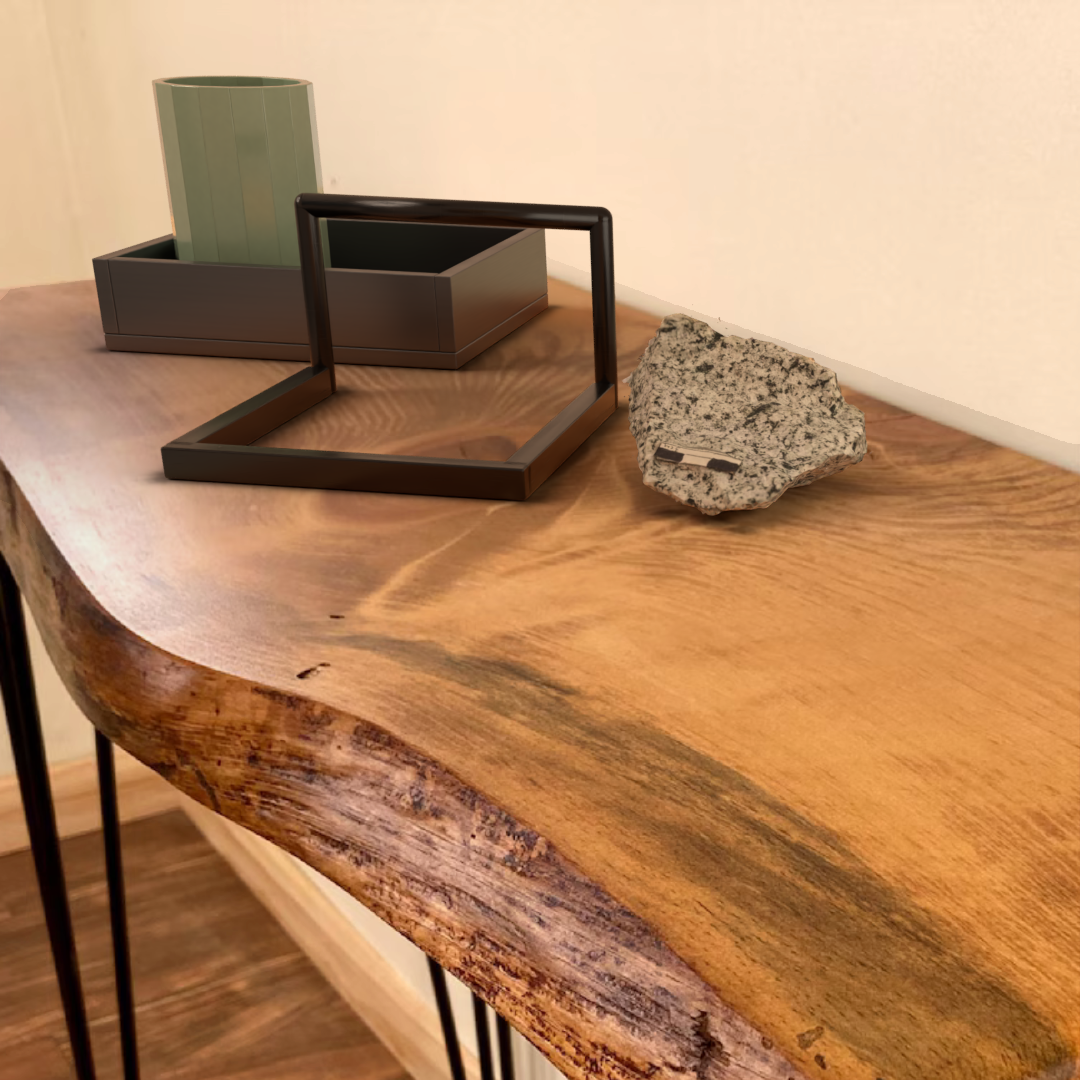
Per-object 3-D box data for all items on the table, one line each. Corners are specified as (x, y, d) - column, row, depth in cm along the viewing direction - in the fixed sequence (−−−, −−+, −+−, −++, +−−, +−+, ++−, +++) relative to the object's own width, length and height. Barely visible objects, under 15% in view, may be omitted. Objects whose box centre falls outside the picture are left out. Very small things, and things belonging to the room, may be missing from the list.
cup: (167, 324, 89) (132, 84, 84) (206, 297, 95) (177, 73, 90) (318, 327, 89) (292, 89, 84) (347, 300, 96) (325, 78, 91)
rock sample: (566, 416, 61) (678, 224, 64) (552, 506, 69) (653, 330, 71) (832, 558, 63) (931, 363, 65) (790, 631, 70) (880, 453, 72)
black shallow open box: (105, 350, 87) (91, 258, 85) (246, 291, 101) (237, 212, 99) (457, 370, 85) (450, 276, 83) (548, 307, 100) (545, 227, 98)
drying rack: (163, 478, 67) (128, 243, 63) (319, 388, 81) (298, 190, 77) (525, 501, 66) (512, 263, 62) (620, 405, 80) (614, 205, 76)
